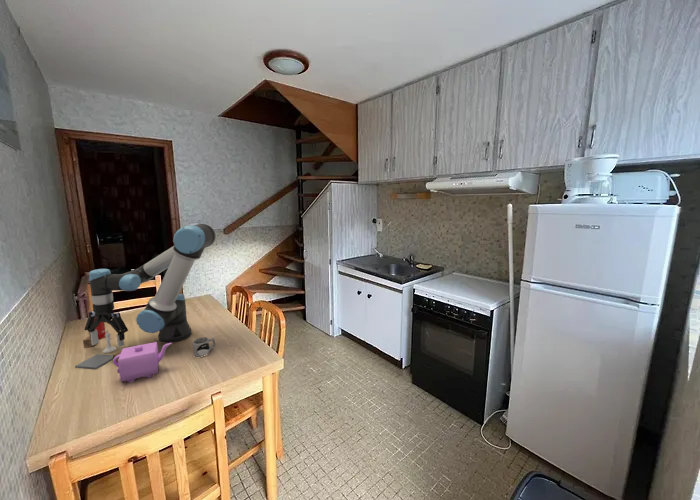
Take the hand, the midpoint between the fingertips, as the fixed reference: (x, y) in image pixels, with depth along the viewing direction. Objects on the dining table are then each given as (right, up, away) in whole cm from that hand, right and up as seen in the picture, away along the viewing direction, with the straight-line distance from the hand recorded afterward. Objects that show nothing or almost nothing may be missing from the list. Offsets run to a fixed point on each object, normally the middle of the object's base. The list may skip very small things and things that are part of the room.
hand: (108, 345), depth 139 cm
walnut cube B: (+13, -4, -9) cm, 17 cm away
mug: (+46, -3, -1) cm, 47 cm away
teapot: (+30, -6, -18) cm, 36 cm away
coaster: (+3, -4, -10) cm, 11 cm away
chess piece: (0, -3, 0) cm, 3 cm away
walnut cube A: (-12, -2, +5) cm, 13 cm away
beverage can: (-15, 0, +13) cm, 20 cm away
